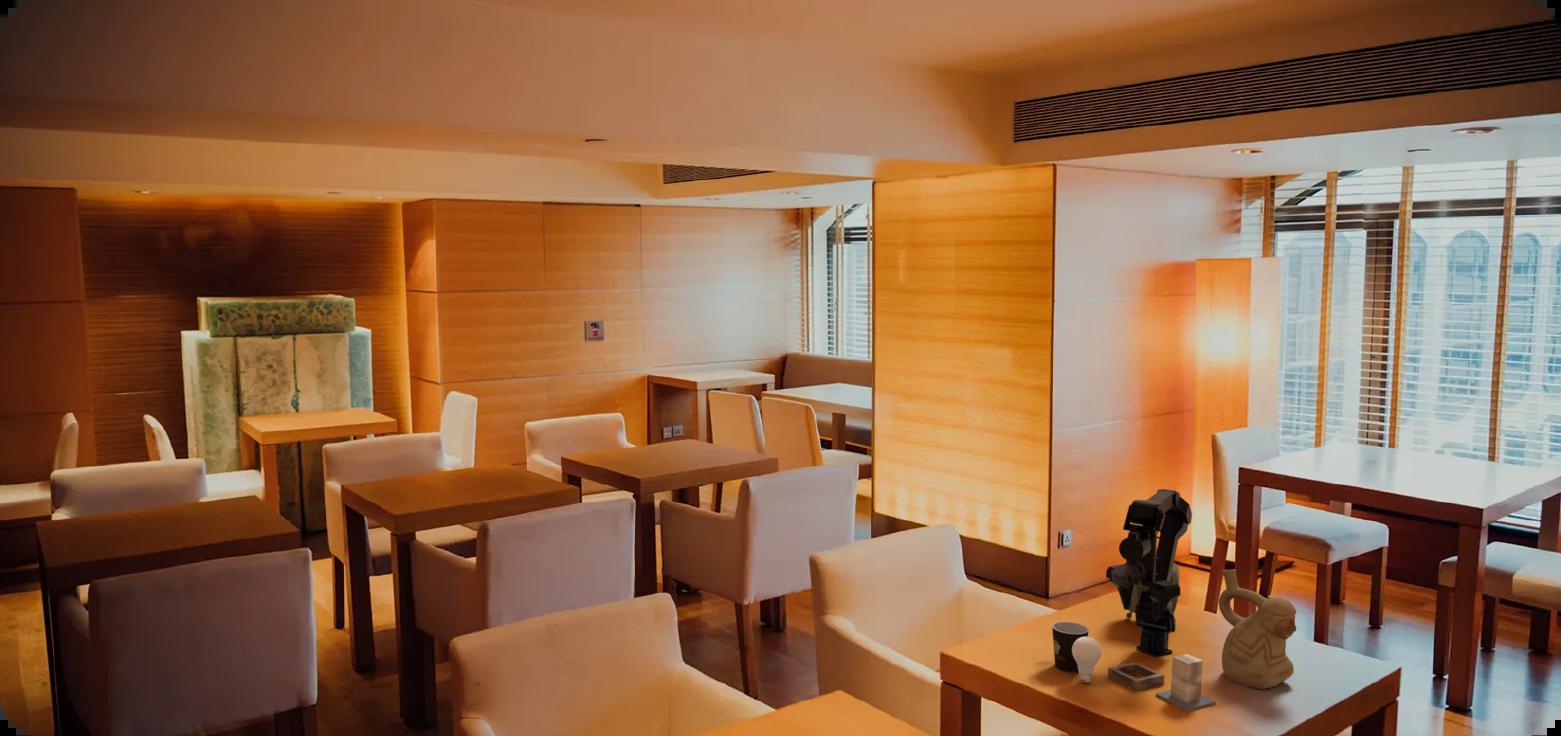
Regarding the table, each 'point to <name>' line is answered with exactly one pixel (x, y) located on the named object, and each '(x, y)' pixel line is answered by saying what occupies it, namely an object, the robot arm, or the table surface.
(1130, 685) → the frame
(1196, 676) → the maple block
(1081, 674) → the light bulb
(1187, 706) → the felt pad
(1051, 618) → the table surface
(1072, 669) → the coffee mug
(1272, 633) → the ceramic vessel
